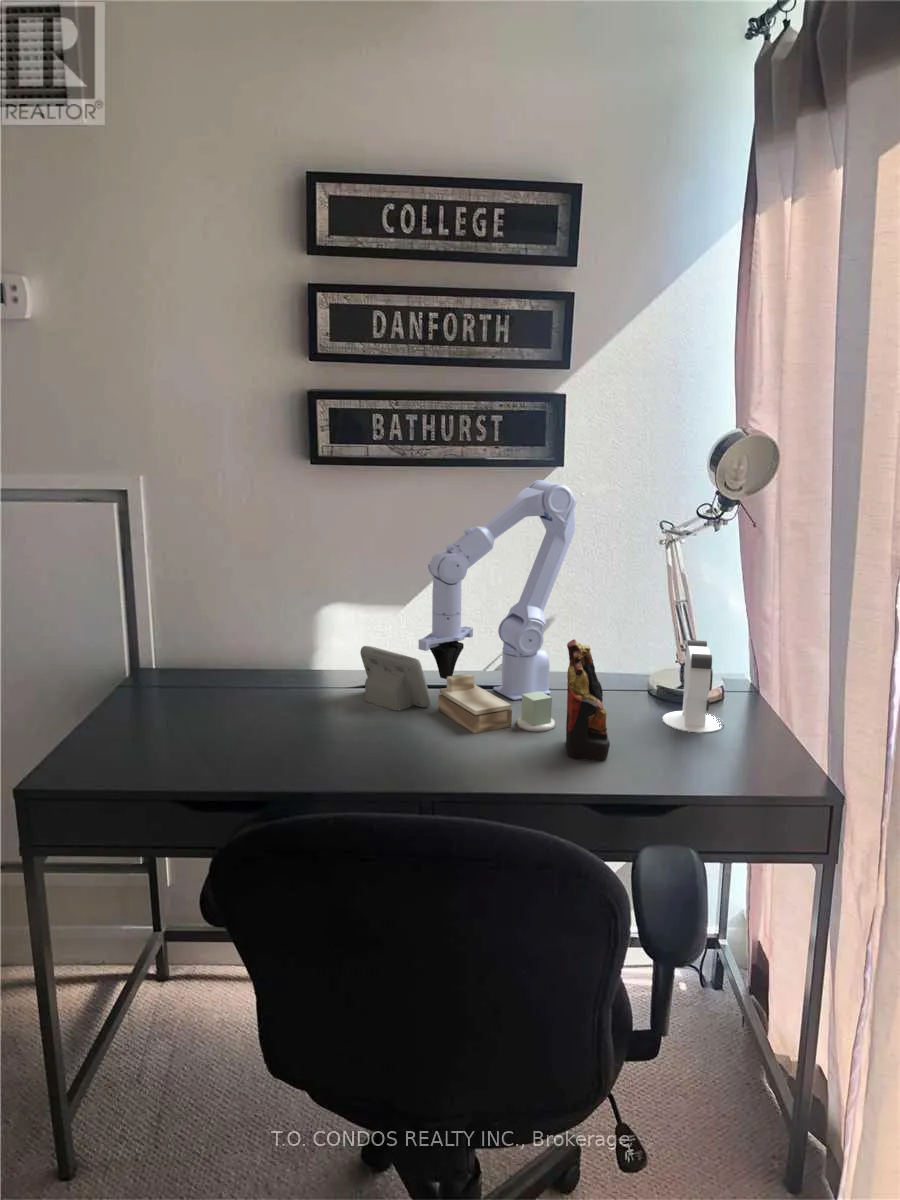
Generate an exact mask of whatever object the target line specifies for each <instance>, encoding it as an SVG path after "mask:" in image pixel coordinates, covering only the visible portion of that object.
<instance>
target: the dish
mask: <svg viewBox="0 0 900 1200" xmlns="http://www.w3.org/2000/svg"><path fill="white" fill-rule="evenodd" d="M516 724H517V727H518V728H519V729H521V730H523V731H527V732H532V733H533V732H534V733H535V732H536V733H542V732H549V731H552V730H554V729H555V727H556V726H555V725H556V721H555V719H554V718H552V717H551V723H548V724H542V725H537V726H532V725H530V724H528V723H526V722H525V721H523V720H521V716H520V717H518V718H517V723H516Z"/></svg>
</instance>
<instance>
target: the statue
mask: <svg viewBox="0 0 900 1200" xmlns="http://www.w3.org/2000/svg"><path fill="white" fill-rule="evenodd" d="M566 646H567V650H568V651H567V652H568V659H569V665H568V668H567V676H566V677H567V682H566V683H567V685H566V686H567V694H566V695H567V696H566V698H567V699H566V722H565V723H566V725H565V726H566V727H565V729H566V730H565V732H566V733H565V752H566V755H567V756H568V757H569V758H570V759H572V760H577V759H578V760H579V761H592V760H601V761H606V759H608V756H609V751H610V746H611V745H610V744H611V743H610V739H609V737H608V732H607V731H608V728H607V709H606V708H605V706H604V703H603V699H604V698H603V696H604V693H603V687H602V684H601V681H599V679H598V677H597V674H596V667H595V665H594V658H593V656H592V652H591V647H590V645H588V644H582V643H580V642H579V643H578V641H577V640H576V639H575V638H574V639H572V640H570V641H568V642H567V644H566ZM578 760H577V761H578Z"/></svg>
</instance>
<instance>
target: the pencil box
mask: <svg viewBox="0 0 900 1200" xmlns="http://www.w3.org/2000/svg"><path fill="white" fill-rule="evenodd" d="M438 711H439V712H440V713H442V714H443V715H445V714H446V715H445V716H446V717H448V718H450V719H451V720H453V721H454V722H455V723H457V724H459V725H461V726H462V727H464V728H465V729H467V730H468V731H470V732H471V733H473V734H479V733H485V732H488V731H494V730H500V729H504V728H510V727H512V722H513V720H512V718H513V709H512V708H511V709H507V710H502V711H496V712H491V713H485V714H479V715H475V714H473V713H471V712H470V711H468V710H466V709H465V708H463V707H462V706H460V705H458V704H457V703H455V702H453V701H452V700H450V699H448V698H447V697H445V696H444V695H442V694H440V693H439V694H438Z"/></svg>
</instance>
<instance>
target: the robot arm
mask: <svg viewBox="0 0 900 1200" xmlns="http://www.w3.org/2000/svg"><path fill="white" fill-rule="evenodd" d="M577 503H578V501H577V500H576V498H575V495H574V493H573V492H572V490H571V488H569V486H567V485H566V484H563V483H554V482H550V481H547V480H543V479H537V480H535V481H533V482H532V483H530V484H529V486H528V487H525V488H524V489H522V490H520V492H519V493H518V494H517V496H516V497H515V498H514V499H513V500H512V501H511V502H509V503H508V504H507V505H506V506H505V507H504V508H502V509H501V510H500V511H499V512H498V513H497V514H496V515H494V516H493V518H491V519H490V520H489V521H488V522H486V524H485V525H484V526H479V525H477V526H473V527H472V528H471V527H467V528H465V529H464V530H463V532H464V533H463V535H462V536H460V537H459V538H458V539H457V540H456V541H454V542H452V543H451V544H450V543H448V544H447V545H446V546H445V549H446V550H443V551H442V550H439V551H438V552H435V554H434V555H433V556H432V557H431V560H430V561H429V564H428V565H427V567H428V571H429V573H430V575H431V576H432V598H431V599H432V607H431V609H432V610H431V611H432V613H431V614H432V615H431V616H432V620H431V621H432V622H431V623H432V625H431V629H432V631H431V632H430V633H429V634H427V635H426V636H424V637H423V638H420V639H418V650H421V651H424V652H427V651H430V652H431V653H432V655H433V657H434V660H435V663H436V665H437V669H438V674H439V678H441V679H445V680H447V677H448V676H454V672H455V667H456V664H457V661H458V659H459V657H460V654H461V653H462V651H463V649H464V646H465V645H464V643H463V642H461V641H463V640H465V639H466V638H473V637H474V628H473V627H471V626H468V625H467V626H466V625H465V626H462V581H463V580H464V579H465V578H466V576H467V572H468V569H470V568H471V567H473V566H474V564H476V563H477V562H478V561H480V560H481V559H482V558H483V557H485V555H487V554H488V553H489V552H491V551H492V550H493V549H494V544H495V540H496V539H497V538H499V537H500V536H502V535H503V534H504V533H506V532H507V531H508V530H510V529H511V528H512V527H514V526H515V525H517V524H518V523H519V522H520V521H522V520H524V519H525V518H527V517H539V519H540V521H541V522H542V524H543V526H544V529H545V534H544V536H543V539H542V541H541V544H540V547H539V549H538V552H537V554H536V557H535V559H534V562H533V564H532V567H531V569H530V571H529V575H528V578H527V580H526V582H525V585H524V587H523V590H522V592H521V595H520V598H519V600H518V602H517V603H515V604H513V606H512V607H510V609H509V611H508V614H506V616H505V617H504V618H503V619H502V620H501V622H499V623H500V624H499V625H498V629H497V631H498V633H497V634H498V637H499V639H500V640H501V641H502V642H503V643H502V644H503V645H502V664H501V685H499V686H498V685H497V686H493V690H494V691H496V692H497V693H499V694H501V695H503V696H505V697H506V698H508V699H511V700H513V701H515V700H516V701H517V700H522V694H526V693H532V692H538V691H540V692H542V693H544V694H546V695H550V694H552V693H551V690H549V688H550V666H551V665H550V659H549V655H548V654H547V652H546V651H545V650H544V649H542V646H543V644H544V639H545V638H544V630H545V627H546V625H547V624H546V619H545V613H544V610H545V608H546V606H547V603H548V601H549V598H550V596H551V592H552V590H553V588H554V585H555V582H556V580H557V578H558V575H559V573H560V570H561V567H562V565H563V562H564V561H565V557H566V554H567V552H568V549H569V548H570V544H571V542H572V539H573V537H574V535H575V531H576V522H575V519H576V518H575V509H576V506H577V505H576V504H577Z"/></svg>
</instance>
